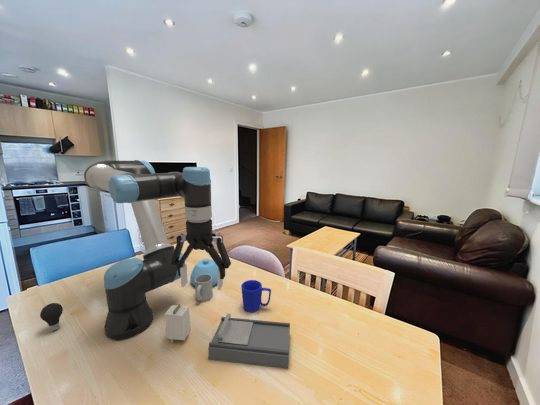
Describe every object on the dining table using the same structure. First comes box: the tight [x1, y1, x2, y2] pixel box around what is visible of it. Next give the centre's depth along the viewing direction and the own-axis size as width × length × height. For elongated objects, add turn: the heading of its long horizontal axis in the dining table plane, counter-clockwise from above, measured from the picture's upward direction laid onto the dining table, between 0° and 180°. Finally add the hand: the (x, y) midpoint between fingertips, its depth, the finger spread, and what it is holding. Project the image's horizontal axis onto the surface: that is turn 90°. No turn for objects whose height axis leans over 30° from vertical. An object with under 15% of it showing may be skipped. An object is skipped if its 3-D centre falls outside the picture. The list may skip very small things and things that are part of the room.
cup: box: [194, 274, 214, 303], centre depth 97 cm, size 7×10×9 cm
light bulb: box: [39, 302, 64, 332], centre depth 78 cm, size 6×6×10 cm
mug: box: [240, 279, 272, 312], centre depth 91 cm, size 8×12×10 cm
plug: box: [164, 303, 191, 344], centre depth 75 cm, size 6×4×12 cm
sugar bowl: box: [190, 258, 218, 288], centre depth 111 cm, size 15×15×12 cm
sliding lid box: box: [207, 316, 291, 369], centre depth 73 cm, size 24×13×5 cm, turn 83°
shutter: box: [218, 313, 253, 346], centre depth 73 cm, size 9×10×4 cm
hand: (202, 286), depth 71 cm, fingers open, 11 cm apart
